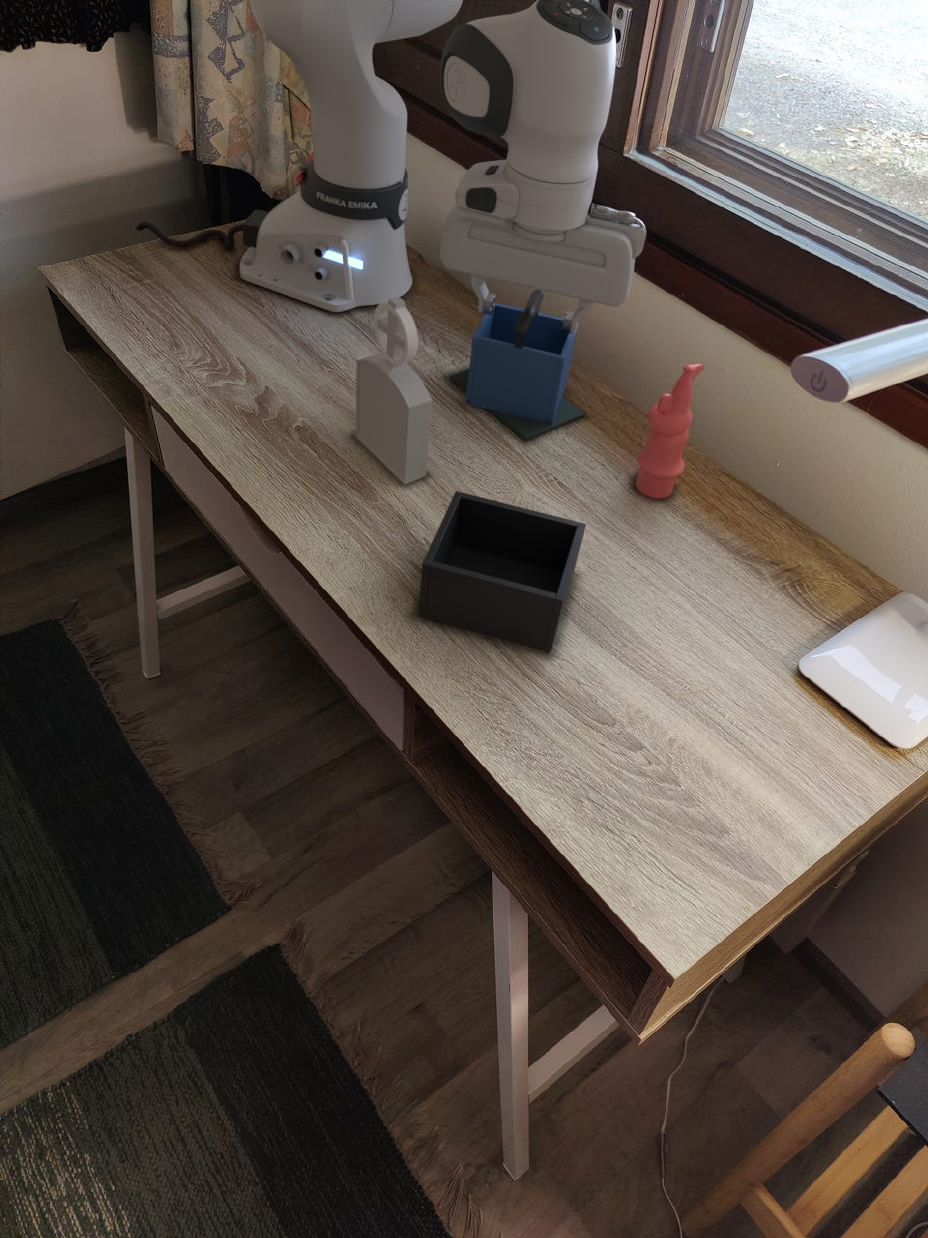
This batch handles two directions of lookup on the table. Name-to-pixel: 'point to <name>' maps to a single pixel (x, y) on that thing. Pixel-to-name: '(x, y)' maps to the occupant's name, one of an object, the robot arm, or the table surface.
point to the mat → (523, 425)
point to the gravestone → (394, 396)
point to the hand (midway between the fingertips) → (527, 321)
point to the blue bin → (520, 361)
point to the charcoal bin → (500, 570)
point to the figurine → (667, 437)
